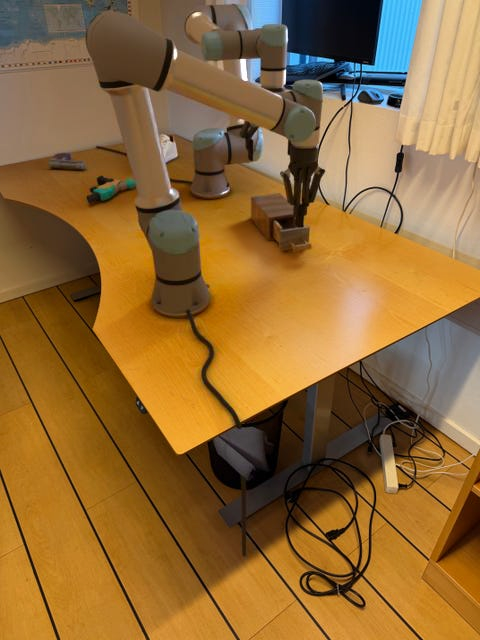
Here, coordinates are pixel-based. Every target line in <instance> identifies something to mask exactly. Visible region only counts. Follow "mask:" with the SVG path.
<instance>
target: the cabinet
mask: <svg viewBox="0 0 480 640" xmlns="http://www.w3.org/2000/svg"><path fill="white" fill-rule="evenodd" d="M293 207H294V206H291V205H290V204H289V203H288V202H287V198H286V197H285V196H284V195H283V194H282V193H281V192H276V193H270V194H264V195H255V196H250V219H251V220H252V222H253V223H254V224H255V226H256V227H257V228H258V229H259V230H260V232H261V234H263V236H264V237H265V238H266V239H267V241H273V240H275V241H276V239H275V238H274V237H273V236H272V235H271V227H272V220H273V219H280V218H287V217H294V215H293Z"/></svg>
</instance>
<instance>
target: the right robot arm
mask: <svg viewBox="0 0 480 640" xmlns="http://www.w3.org/2000/svg"><path fill="white" fill-rule="evenodd" d="M183 23H184V24H183V28H184V34H185V35H186V37H187V39H188V40H189V41H190V42H192V44H193V43H194V44H195V45H200V47H201V49H200V50H201V54H202V57H203V60H204V61H205V62H206V61H207V62H219V61H221V62H222V66H223V70H224V71H226V72H228V73H231V74H233V75H235V76H237V77H240V78H242V79H244V80H246V81H248V82H249V75H248V66H247V60H257V59H260V60H259V61H260V66H259V67H260V72H259V84H260V85H261V86H260V87H262V88H264V89H266V90H268V91H271V92H273V93H277V92H286V87H285V85H286V81H287V80H286V79H287V78H286V77H287V57H288V41H289V38H288V27H287V25H285V24H283V23H282V24H281V23H268V24H263V25H262V26H261V27H260V28H259V27H258V28H257V27H256V28H253V20H252V16H251V13H250V11H249V9H248V8H247V6H245V5H244V4H238V3H237V4H236V3H230V4H204V5H199V6H196V7H195V8H193V9H192V10H190V11H189V12H188V13H187V15H186V17H185V19H184V22H183ZM228 119H229V123H228V124H227V126H226V127H225V128H226V131H225V132H224V130H223V129H222V128H220V127H211V128H210V127H209V128H205V129H202V130H199V131H197V132H196V133H195V134H194V135H193V137H192V150H193V151H192V152H193V164H194V165H193V167H194V175H193V180H192V181H191V180H185V179H177V178H175V179H174V178H171V177H169V179H170V182H175V183H185V184H191V187H190V188H191V189H190V190H191V195H192V196H194V197H195V198H197V199H202V200H218V199H221V198H225V197H227V196H228V195H229V194H230V193H231V186H230V183H229V181H228V177H227V174H226V170H225V166H227V165H238V164H250V163H255V162H257V161H259V160H260V159H261V157H262V154H263V151H264V134H263V130H262V129H260V127H253V126H252V125H251V124H250V123H249V122H247V121H245V120H242V119H240V118H237V117H235V116H232V115H230V114H228ZM291 145H292V143H291V141H290V140H288V139H287V152H286V153H287V155H288V156H289V157H290V146H291ZM95 147H96V148H98V149H103V150H107V151H110V152H115V153H118V154H122V155H125V156H127V153H126V152H124V151H122V150H118V149H113V148H109V147H105V146H100V145H96V146H95Z"/></svg>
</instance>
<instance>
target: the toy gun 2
mask: <svg viewBox="0 0 480 640" xmlns="http://www.w3.org/2000/svg"><path fill="white" fill-rule="evenodd" d="M96 183H97V186H96V185H94V186H92V187H90V188H89V192H90V193H91V194H89V195H87V196H86V201H87V203H88V204H92V203H94V202H96V201H98V200H100V201H101V202H104V201H106V200H110V199H111V198H113V197H114V195H116V194H117V193H118V192H120V191H124V190H126V189H128V190H131V189H134V188H135V187H136V184H135V181H134V178H128V179H125V181H124V182H123V181H122V182H121V180H119V179H117V178H116V179H114V178H108V177H105V176H104V175H99V176H97V177H96Z"/></svg>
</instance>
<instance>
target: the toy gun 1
mask: <svg viewBox="0 0 480 640" xmlns="http://www.w3.org/2000/svg"><path fill="white" fill-rule="evenodd" d="M72 158H73V157H72V154H71V152H58V153H55V154H54V155H53V158H50V159H49V162H48V164H47V166H49V168H52V169H62V170H63V169H65V170H78V171H79V170H80V171H84V170H85V167H86V166H87V164H86V162H84V161H83V160H82V161H81V160H72Z"/></svg>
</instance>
